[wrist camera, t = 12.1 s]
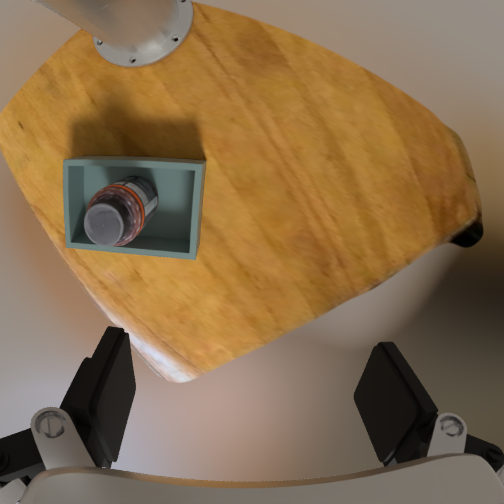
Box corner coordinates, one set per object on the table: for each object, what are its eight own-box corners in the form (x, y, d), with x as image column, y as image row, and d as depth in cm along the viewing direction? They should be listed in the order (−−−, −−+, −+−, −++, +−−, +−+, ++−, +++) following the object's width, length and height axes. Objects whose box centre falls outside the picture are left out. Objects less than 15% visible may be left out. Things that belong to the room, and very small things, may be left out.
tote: (82, 155, 33) (63, 159, 29) (206, 160, 35) (202, 164, 31) (82, 234, 37) (66, 247, 32) (199, 244, 39) (195, 259, 34)
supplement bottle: (129, 230, 37) (95, 268, 26) (105, 190, 35) (62, 214, 24) (169, 208, 36) (145, 239, 26) (144, 165, 34) (110, 179, 24)
